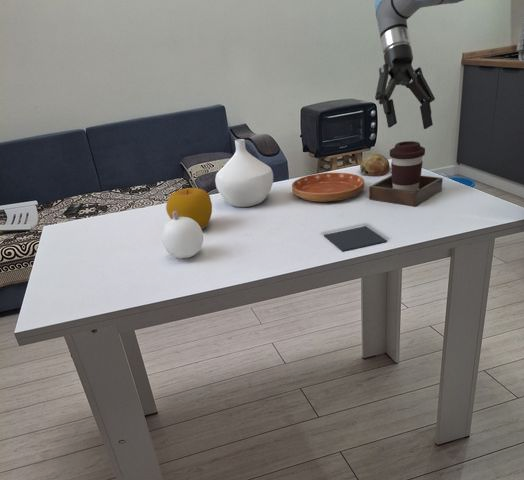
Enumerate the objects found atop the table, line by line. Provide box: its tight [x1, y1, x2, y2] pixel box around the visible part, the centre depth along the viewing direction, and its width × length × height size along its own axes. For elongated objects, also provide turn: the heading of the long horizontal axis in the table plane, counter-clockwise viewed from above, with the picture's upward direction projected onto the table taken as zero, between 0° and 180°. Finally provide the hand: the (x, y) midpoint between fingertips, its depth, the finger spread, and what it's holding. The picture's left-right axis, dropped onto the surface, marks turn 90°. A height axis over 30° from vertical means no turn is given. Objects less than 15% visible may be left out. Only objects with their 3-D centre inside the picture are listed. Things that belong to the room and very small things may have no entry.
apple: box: [165, 187, 213, 230], centre depth 154 cm, size 13×13×11 cm
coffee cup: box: [389, 140, 426, 192], centre depth 159 cm, size 10×10×15 cm
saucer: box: [291, 172, 366, 203], centre depth 171 cm, size 23×23×4 cm
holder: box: [368, 174, 444, 208], centre depth 162 cm, size 16×16×4 cm
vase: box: [214, 138, 274, 208], centre depth 168 cm, size 18×18×19 cm
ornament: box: [161, 211, 204, 259], centre depth 136 cm, size 10×10×12 cm
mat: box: [323, 225, 388, 253], centre depth 138 cm, size 12×12×1 cm
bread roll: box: [359, 153, 391, 177], centre depth 185 cm, size 10×10×8 cm
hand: (410, 126), depth 149 cm, fingers open, 13 cm apart
